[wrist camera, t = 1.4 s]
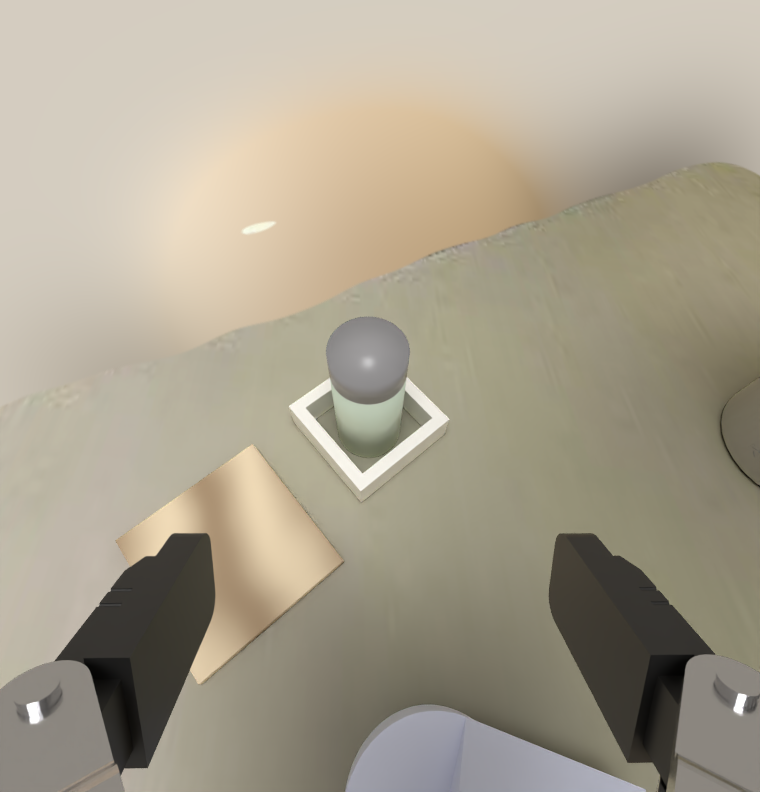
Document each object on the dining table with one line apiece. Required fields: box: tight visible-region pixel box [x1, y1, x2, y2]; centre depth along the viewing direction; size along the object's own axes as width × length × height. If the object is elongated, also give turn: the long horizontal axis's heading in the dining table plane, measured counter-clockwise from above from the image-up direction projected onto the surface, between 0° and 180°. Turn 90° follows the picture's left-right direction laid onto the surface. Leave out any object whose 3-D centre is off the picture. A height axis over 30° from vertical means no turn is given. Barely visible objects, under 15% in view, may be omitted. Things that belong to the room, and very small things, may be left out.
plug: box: [326, 317, 410, 458], centre depth 30 cm, size 4×4×10 cm
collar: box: [289, 378, 449, 503], centre depth 33 cm, size 8×8×2 cm
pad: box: [116, 444, 344, 685], centre depth 30 cm, size 10×10×1 cm
